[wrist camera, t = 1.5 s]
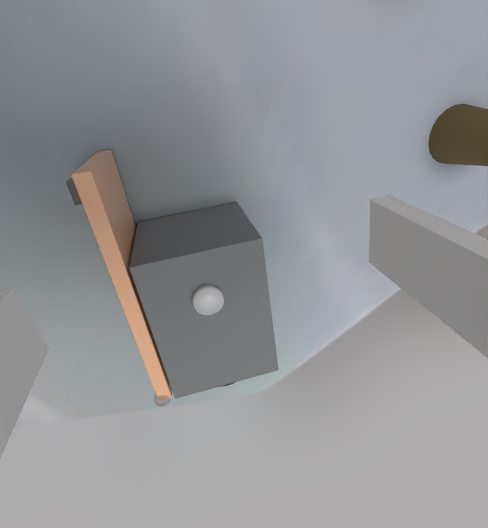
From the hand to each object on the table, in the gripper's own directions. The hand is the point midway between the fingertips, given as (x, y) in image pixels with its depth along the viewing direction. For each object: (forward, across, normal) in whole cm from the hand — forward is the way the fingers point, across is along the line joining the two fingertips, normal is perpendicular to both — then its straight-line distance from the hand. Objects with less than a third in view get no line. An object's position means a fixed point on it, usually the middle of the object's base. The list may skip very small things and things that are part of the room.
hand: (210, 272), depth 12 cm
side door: (+21, -7, -8) cm, 24 cm away
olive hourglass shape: (+22, +29, -3) cm, 37 cm away
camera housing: (+22, -1, -12) cm, 25 cm away
